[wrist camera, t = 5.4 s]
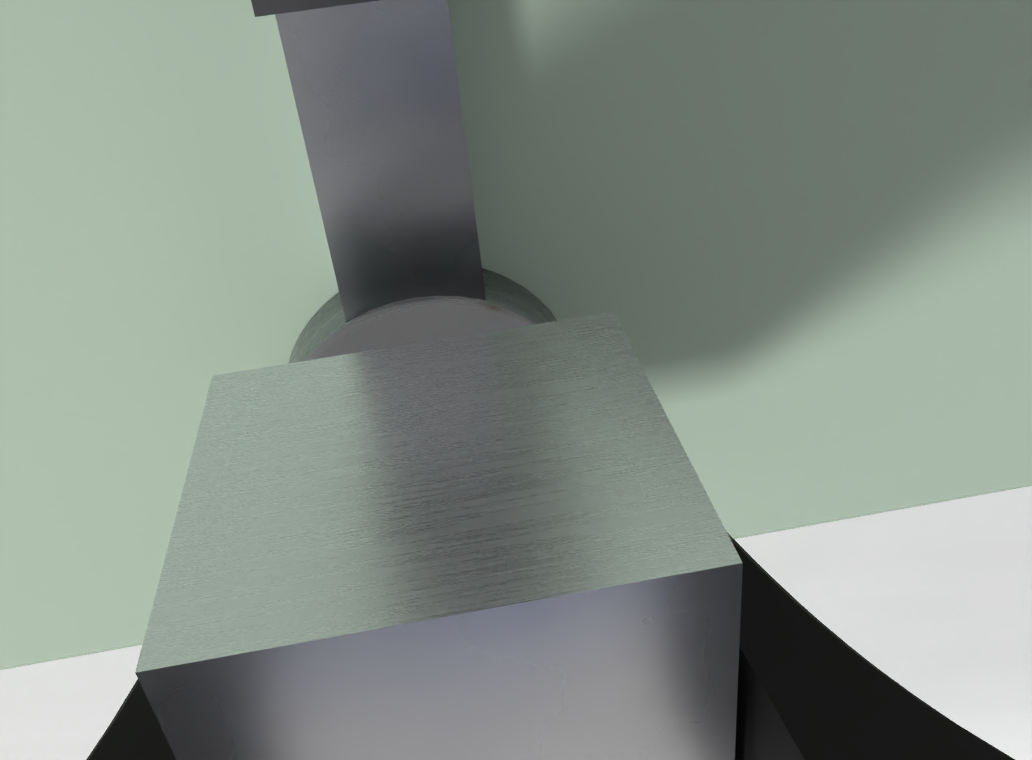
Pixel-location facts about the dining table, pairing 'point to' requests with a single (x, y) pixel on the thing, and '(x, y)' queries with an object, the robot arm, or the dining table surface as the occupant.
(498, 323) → the handled tool
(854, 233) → the mat
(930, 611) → the dining table surface
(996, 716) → the dining table surface
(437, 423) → the brushed metal cube
